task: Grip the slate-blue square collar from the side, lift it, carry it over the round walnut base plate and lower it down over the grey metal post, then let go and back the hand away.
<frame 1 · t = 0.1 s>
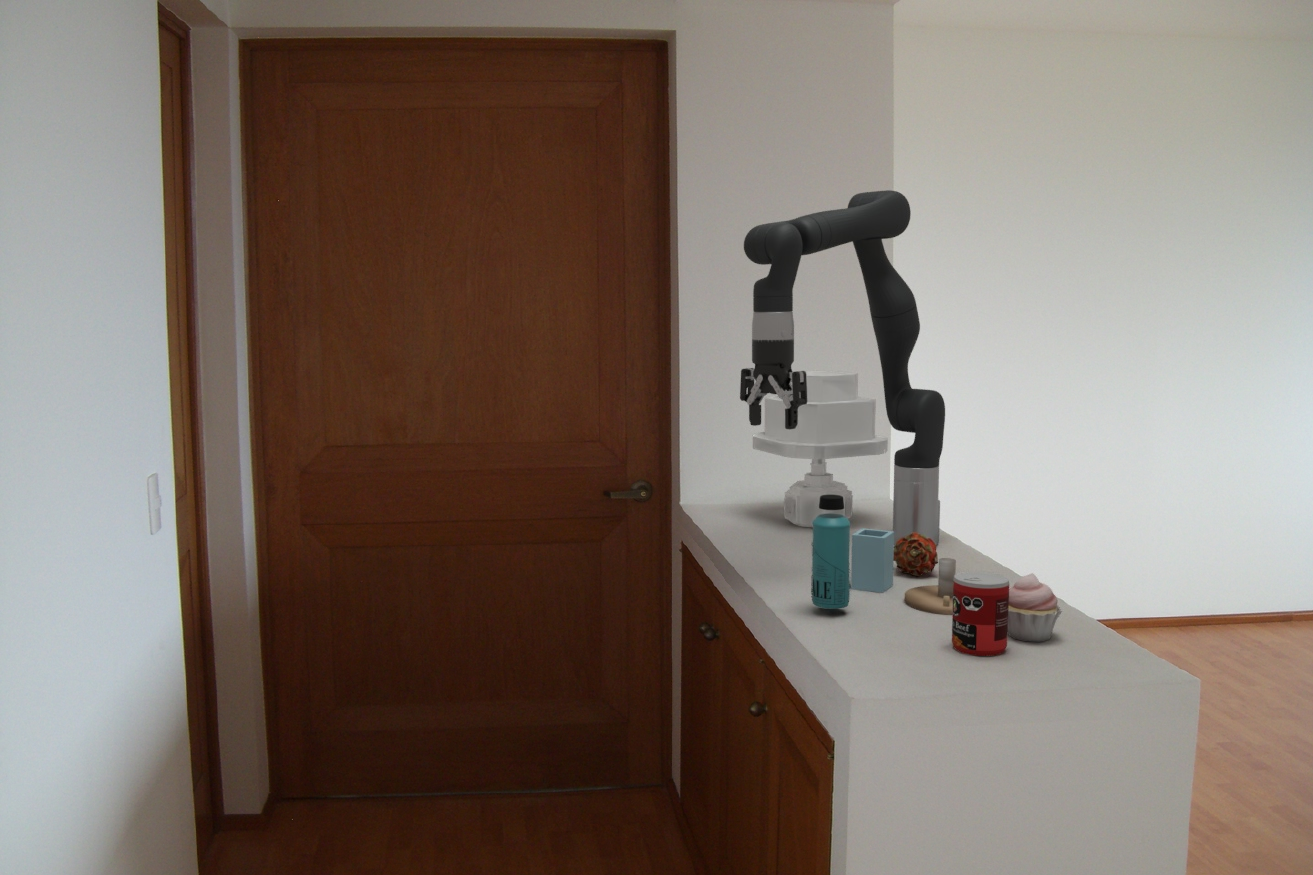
hand: (772, 427, 194), 29 cm above the table, tool pointing down, fingers open, 8 cm apart
canned food: (978, 649, 161), on the table
post plate: (946, 602, 185), on the table
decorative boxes: (818, 523, 251), on the table
beverage bottle: (830, 613, 180), on the table
cupcake: (1029, 637, 167), on the table
collar: (872, 586, 195), on the table
dragon fruit: (912, 573, 205), on the table
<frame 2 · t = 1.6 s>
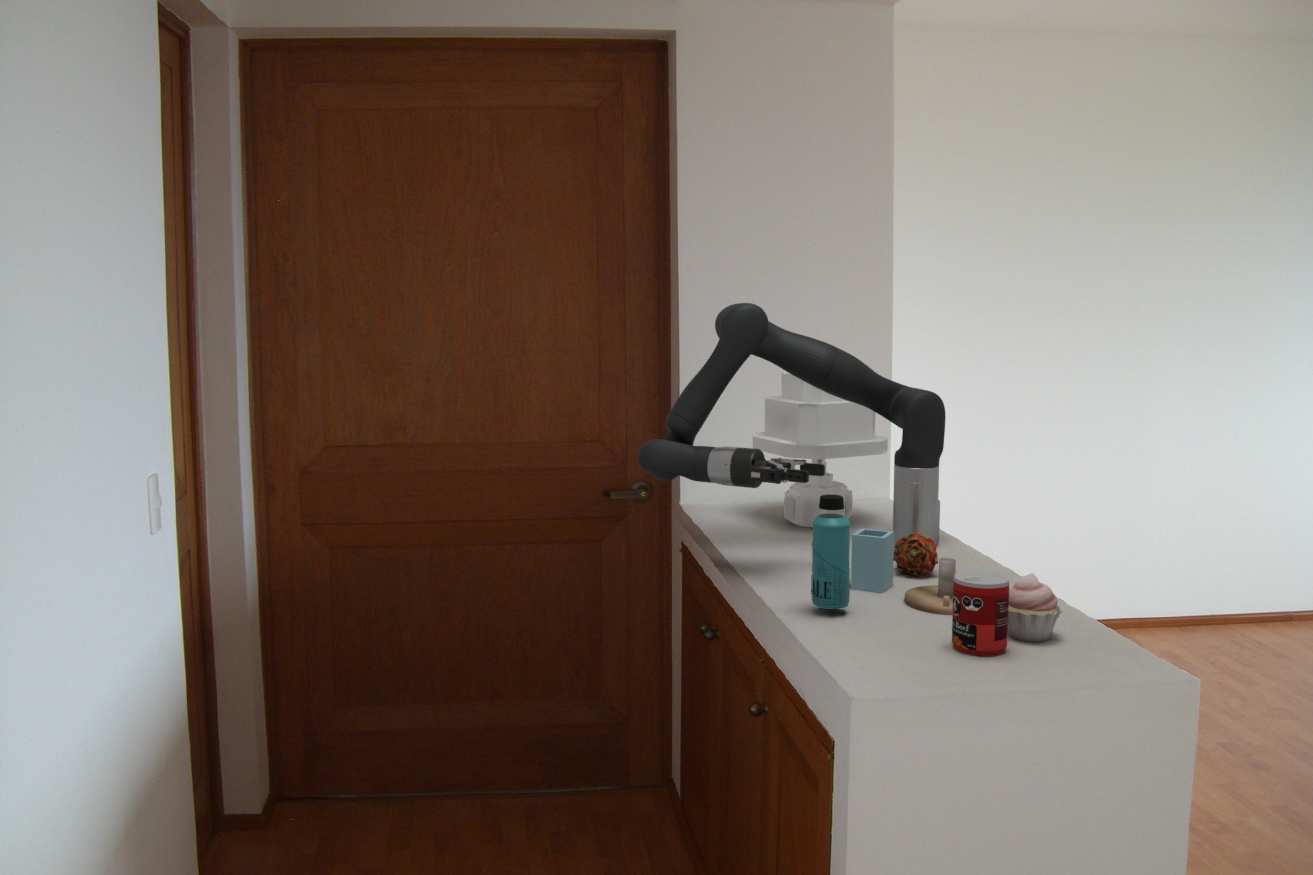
hand: (816, 473, 198), 20 cm above the table, tool horizontal, fingers open, 8 cm apart
nothing on the table moved.
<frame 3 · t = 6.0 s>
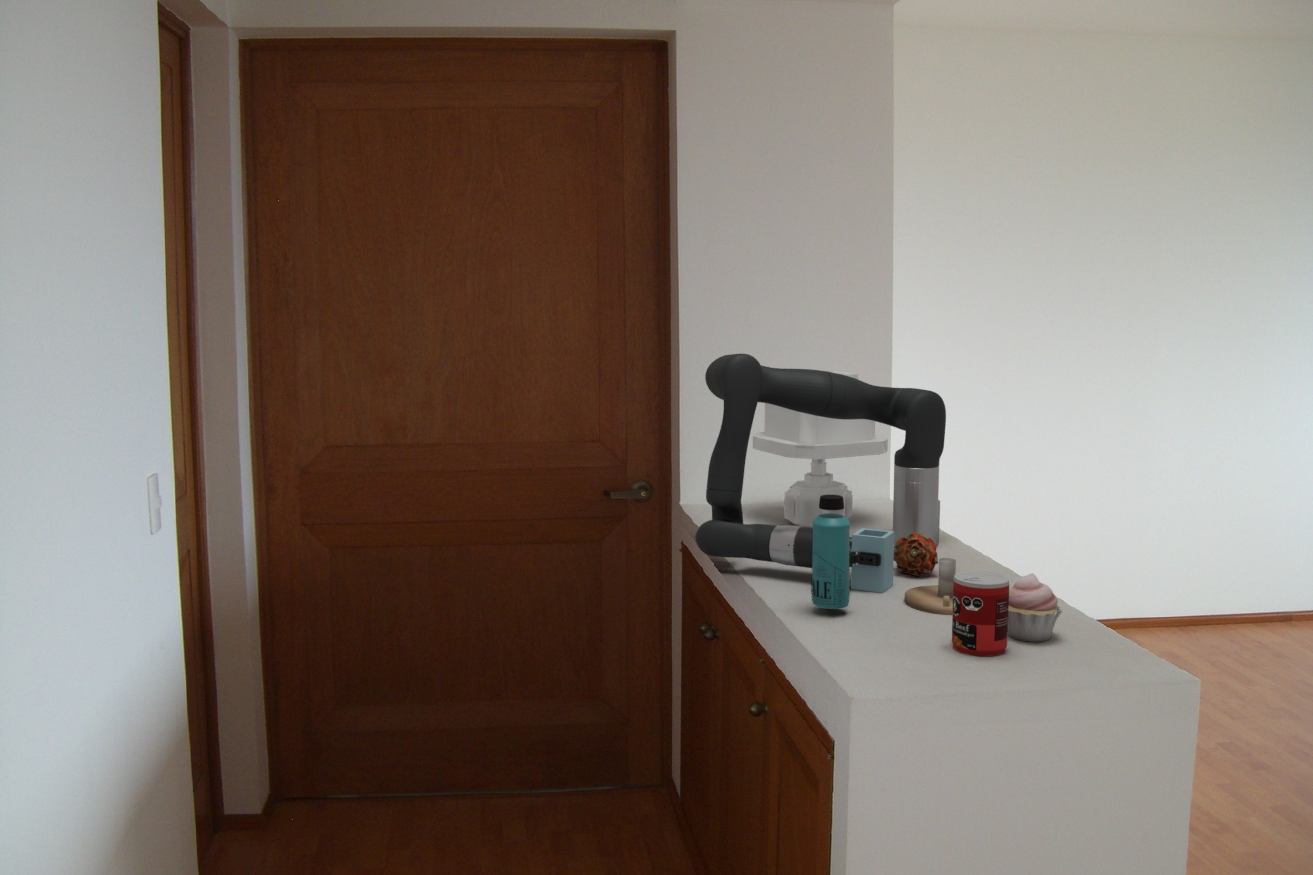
hand: (885, 556, 194), 6 cm above the table, tool horizontal, fingers closed on collar, 6 cm apart
collar: (872, 586, 195), on the table, touching gripper
everything else where it was.
when the fingers open (8 cm above the table, at t = 12.1 s): collar drops 1 cm, resting on post plate.
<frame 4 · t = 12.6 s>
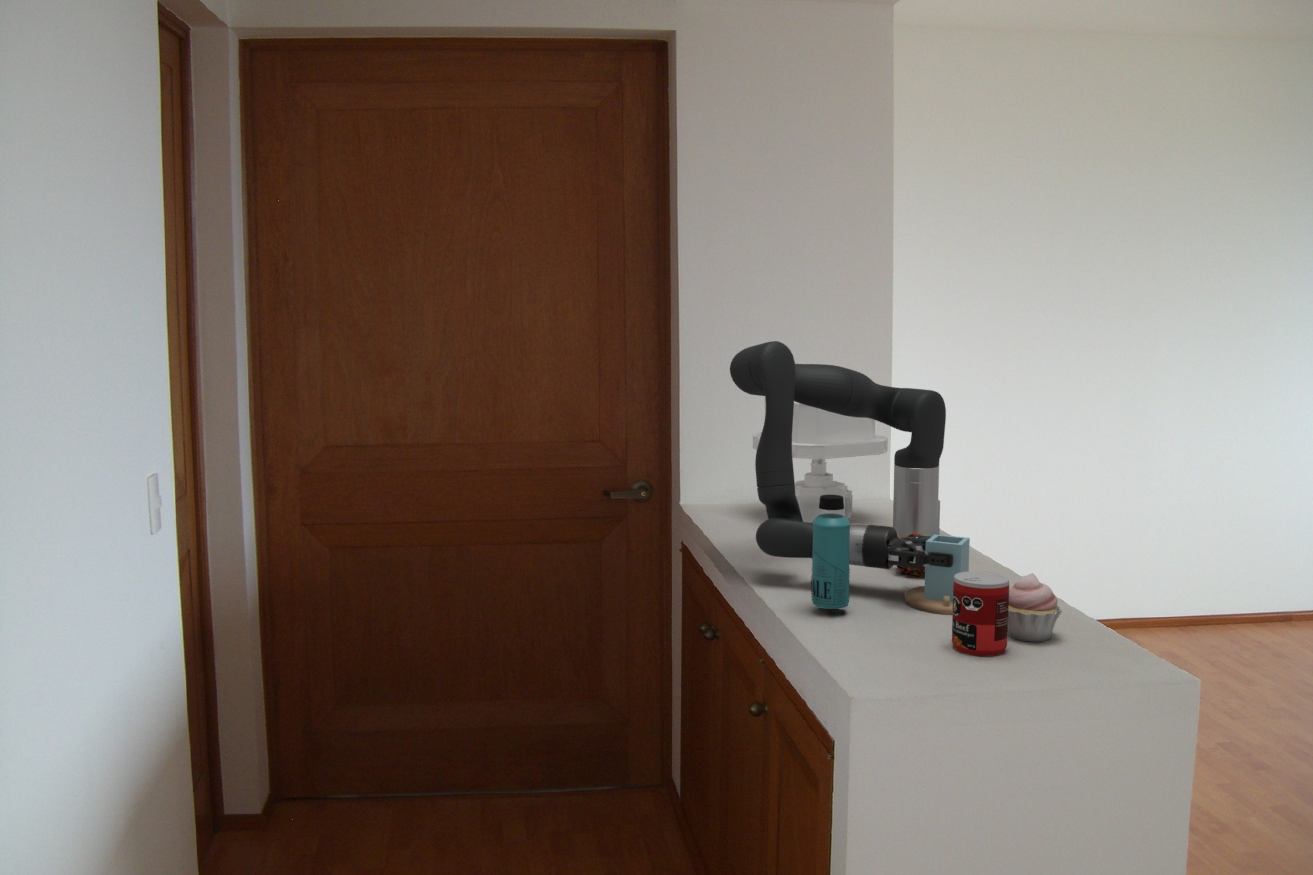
hand: (958, 555, 183), 9 cm above the table, tool horizontal, fingers open, 8 cm apart
collar: (946, 596, 185), point 1 cm above the table, touching post plate
everything else where it was.
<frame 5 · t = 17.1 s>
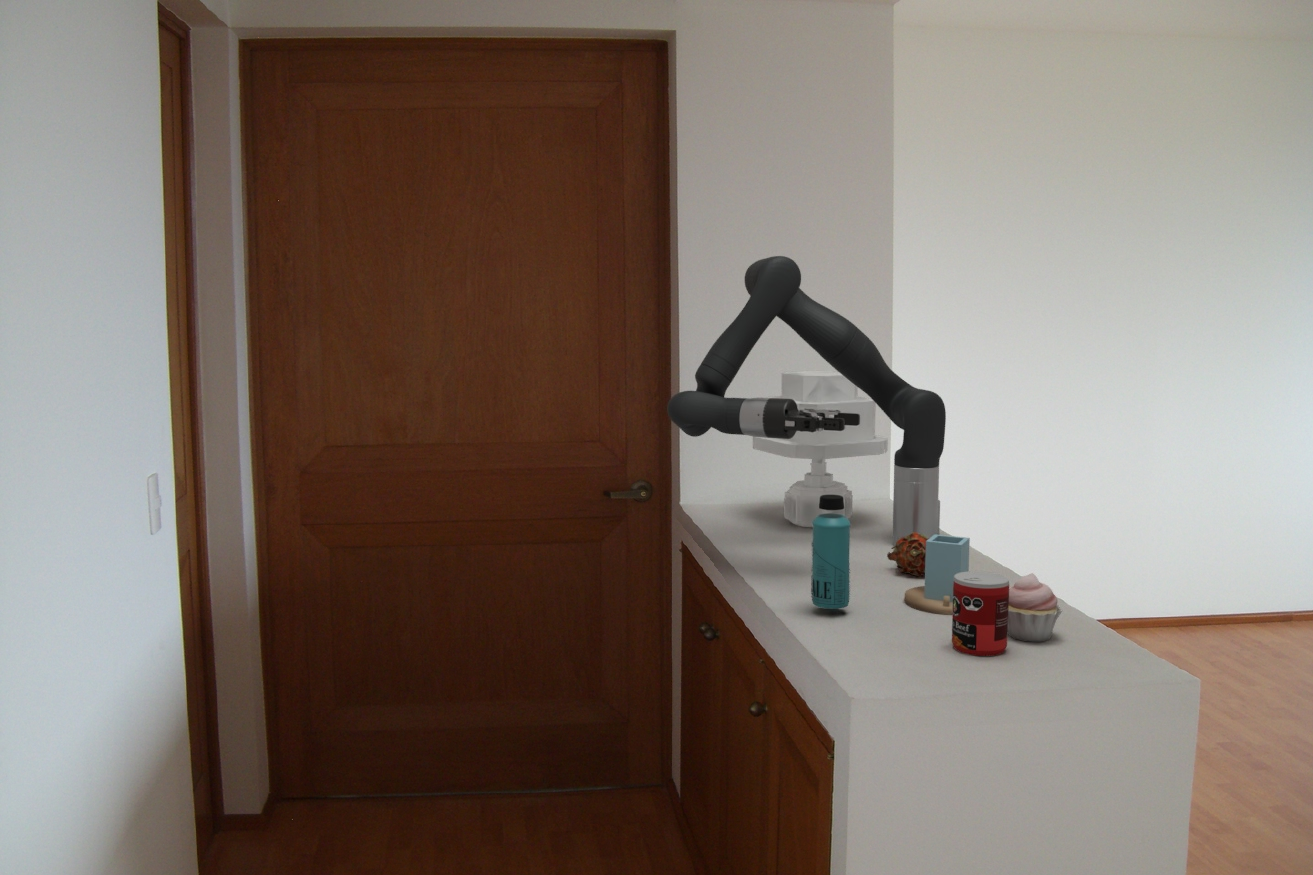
hand: (851, 422, 194), 30 cm above the table, tool horizontal, fingers open, 8 cm apart
nothing on the table moved.
at the end: collar 0.1 cm off-centre on the post plate, point 1.2 cm above the post plate's base; collar tilted 0°; the gripper is holding nothing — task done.
